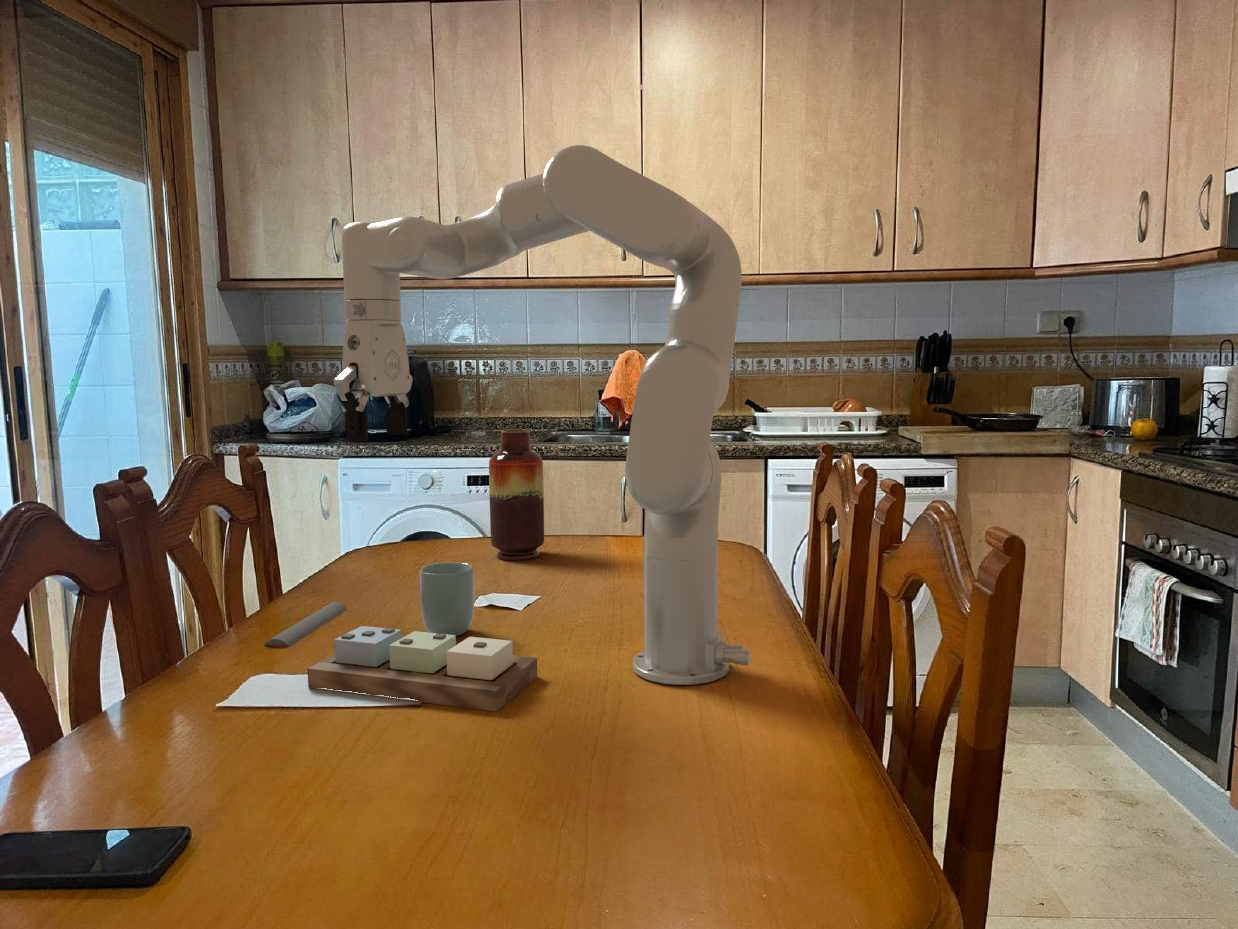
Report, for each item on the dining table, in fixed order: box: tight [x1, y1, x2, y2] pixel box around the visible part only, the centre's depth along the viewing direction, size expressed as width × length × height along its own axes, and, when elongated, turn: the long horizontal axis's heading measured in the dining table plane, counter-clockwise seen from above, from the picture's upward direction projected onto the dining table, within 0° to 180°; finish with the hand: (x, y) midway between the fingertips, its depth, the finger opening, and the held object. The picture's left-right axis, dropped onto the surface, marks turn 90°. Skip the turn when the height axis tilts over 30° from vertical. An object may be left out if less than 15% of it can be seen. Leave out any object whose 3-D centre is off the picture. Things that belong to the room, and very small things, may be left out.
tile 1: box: [447, 636, 514, 681], centre depth 111 cm, size 6×6×3 cm
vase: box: [488, 428, 545, 562], centre depth 185 cm, size 11×11×26 cm
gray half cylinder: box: [263, 601, 348, 648], centre depth 138 cm, size 4×20×2 cm, turn 172°
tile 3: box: [334, 625, 403, 668], centre depth 116 cm, size 6×6×3 cm
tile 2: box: [389, 630, 457, 674], centre depth 114 cm, size 6×6×3 cm
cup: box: [419, 561, 475, 637], centre depth 134 cm, size 8×8×10 cm
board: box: [306, 653, 538, 712], centre depth 114 cm, size 26×12×2 cm, turn 72°
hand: (377, 437), depth 127 cm, fingers open, 9 cm apart
